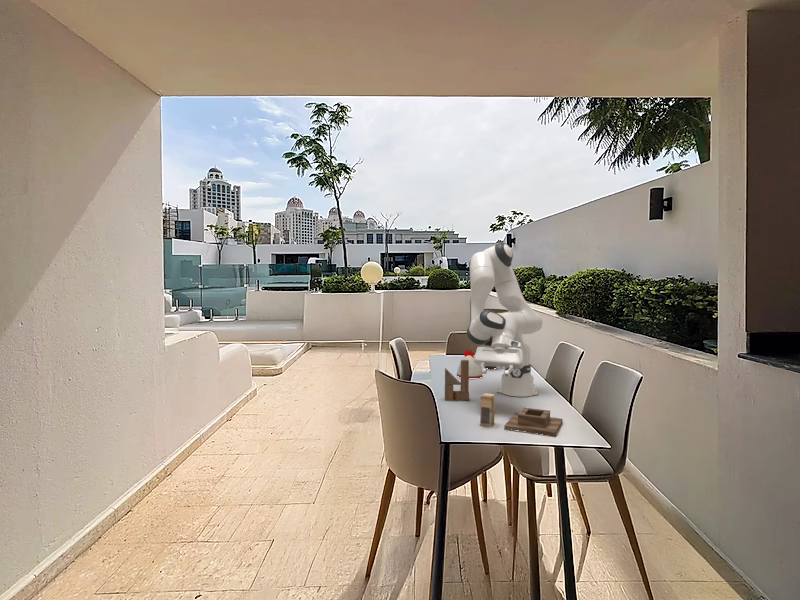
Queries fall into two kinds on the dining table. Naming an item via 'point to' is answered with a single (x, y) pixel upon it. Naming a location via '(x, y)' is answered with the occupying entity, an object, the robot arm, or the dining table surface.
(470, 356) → the kitchen timer
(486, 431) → the dining table surface
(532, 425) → the post base
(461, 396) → the wooden block
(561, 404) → the dining table surface
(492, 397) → the tan rectangular box
